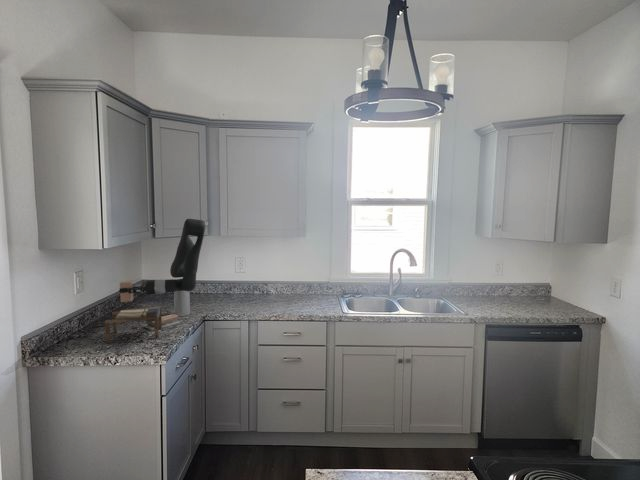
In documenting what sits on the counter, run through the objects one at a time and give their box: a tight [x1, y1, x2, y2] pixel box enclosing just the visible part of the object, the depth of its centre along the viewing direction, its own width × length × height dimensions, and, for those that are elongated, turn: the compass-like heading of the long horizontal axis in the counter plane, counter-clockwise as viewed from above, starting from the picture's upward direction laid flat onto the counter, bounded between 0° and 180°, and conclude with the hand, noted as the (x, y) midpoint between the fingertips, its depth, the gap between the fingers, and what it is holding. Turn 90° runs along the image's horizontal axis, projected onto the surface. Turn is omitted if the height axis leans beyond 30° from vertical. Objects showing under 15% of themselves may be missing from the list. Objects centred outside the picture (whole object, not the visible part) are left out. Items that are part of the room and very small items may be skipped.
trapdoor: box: [116, 305, 161, 322], centre depth 193 cm, size 13×19×4 cm
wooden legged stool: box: [104, 307, 163, 345], centre depth 193 cm, size 17×24×12 cm
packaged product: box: [143, 313, 183, 331], centre depth 211 cm, size 18×5×10 cm
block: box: [119, 280, 134, 303], centre depth 190 cm, size 5×5×10 cm
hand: (120, 289), depth 189 cm, fingers closed on block, 5 cm apart
